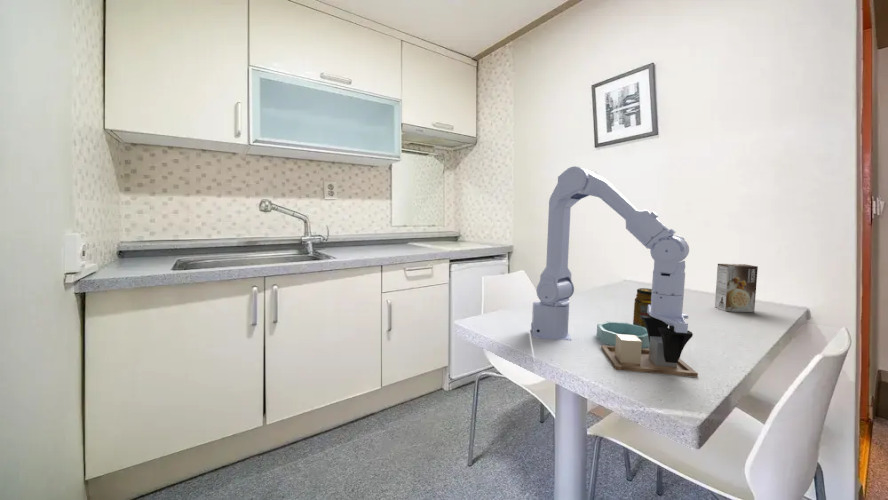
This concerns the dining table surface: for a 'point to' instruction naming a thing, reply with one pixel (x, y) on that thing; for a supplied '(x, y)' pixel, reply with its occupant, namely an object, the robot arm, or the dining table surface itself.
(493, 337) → the dining table surface
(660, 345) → the grey block
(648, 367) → the tray
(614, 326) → the bowl
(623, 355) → the beige block
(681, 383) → the dining table surface
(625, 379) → the dining table surface
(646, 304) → the condiment
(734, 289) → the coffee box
